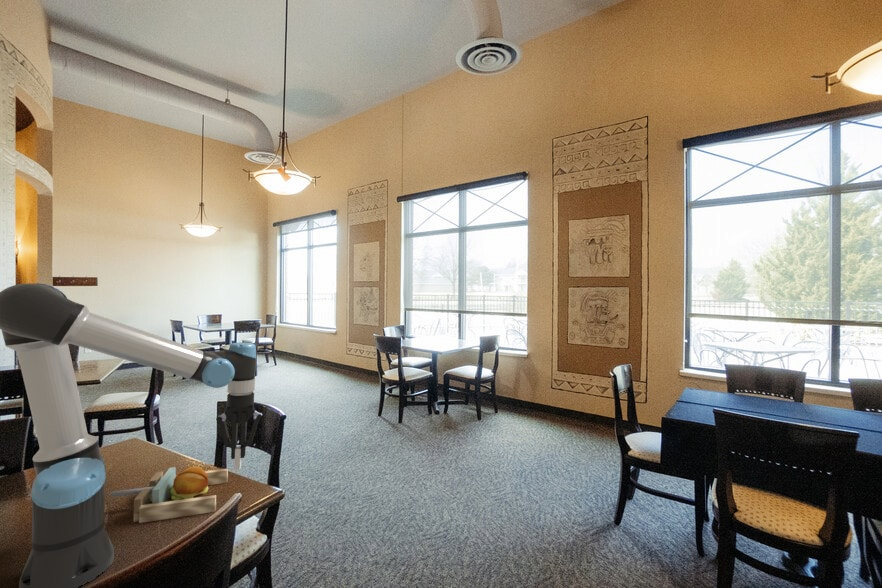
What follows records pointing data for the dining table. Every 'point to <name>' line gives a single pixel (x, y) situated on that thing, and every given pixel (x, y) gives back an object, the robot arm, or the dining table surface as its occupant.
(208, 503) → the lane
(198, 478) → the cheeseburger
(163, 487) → the pusher
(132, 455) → the dining table surface
